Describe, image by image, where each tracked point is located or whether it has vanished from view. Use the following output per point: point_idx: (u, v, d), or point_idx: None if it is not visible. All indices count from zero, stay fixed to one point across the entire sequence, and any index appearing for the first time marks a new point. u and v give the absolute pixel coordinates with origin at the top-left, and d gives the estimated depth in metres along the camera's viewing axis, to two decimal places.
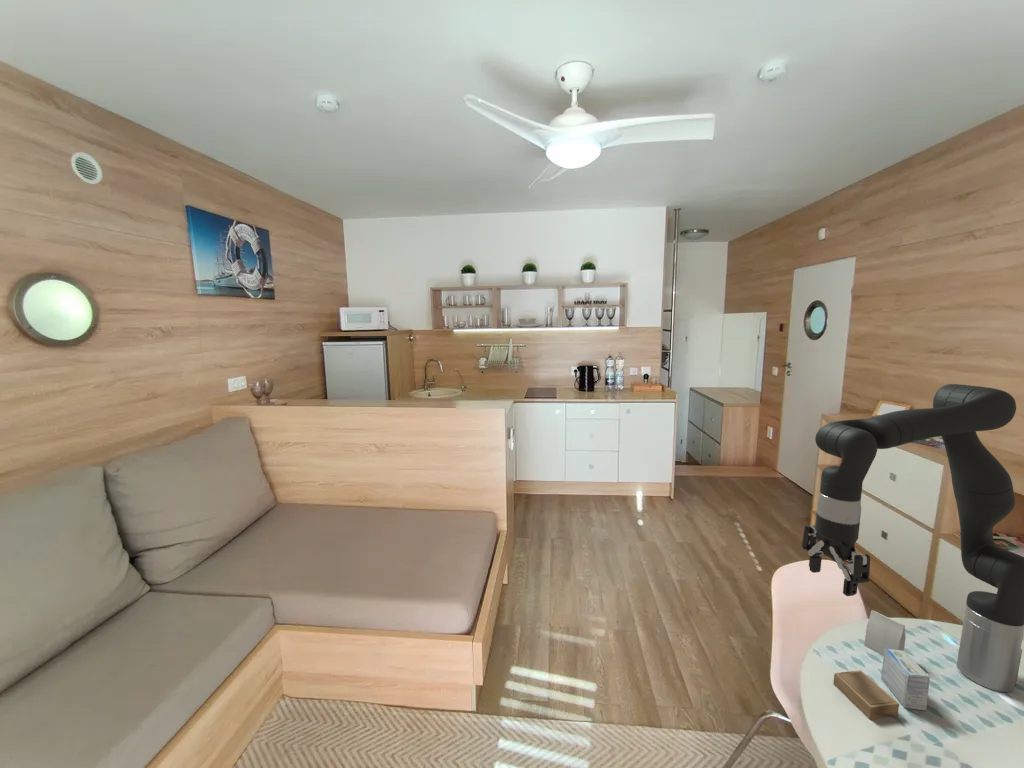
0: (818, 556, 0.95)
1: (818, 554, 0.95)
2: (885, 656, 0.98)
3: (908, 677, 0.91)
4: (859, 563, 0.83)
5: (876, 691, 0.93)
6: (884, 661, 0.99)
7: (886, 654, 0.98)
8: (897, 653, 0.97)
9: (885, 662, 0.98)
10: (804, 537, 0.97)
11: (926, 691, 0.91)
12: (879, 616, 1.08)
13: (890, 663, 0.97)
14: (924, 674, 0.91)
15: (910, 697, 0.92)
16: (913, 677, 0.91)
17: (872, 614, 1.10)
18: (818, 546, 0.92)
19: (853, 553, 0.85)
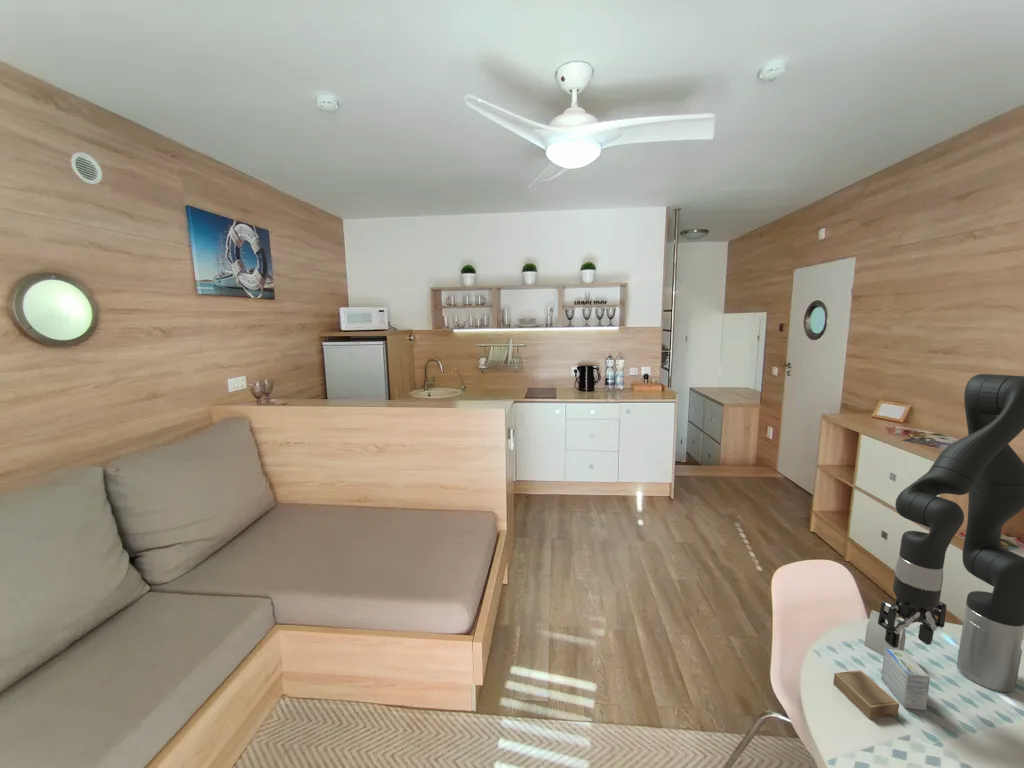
0: None
1: None
2: (885, 656, 0.98)
3: (908, 677, 0.91)
4: (945, 609, 0.92)
5: (876, 691, 0.93)
6: (884, 661, 0.99)
7: (886, 654, 0.98)
8: (897, 653, 0.97)
9: (885, 662, 0.98)
10: (891, 620, 0.91)
11: (926, 691, 0.91)
12: None
13: (890, 663, 0.97)
14: (924, 674, 0.91)
15: (910, 697, 0.92)
16: (913, 677, 0.91)
17: (872, 614, 1.10)
18: (911, 619, 0.91)
19: None
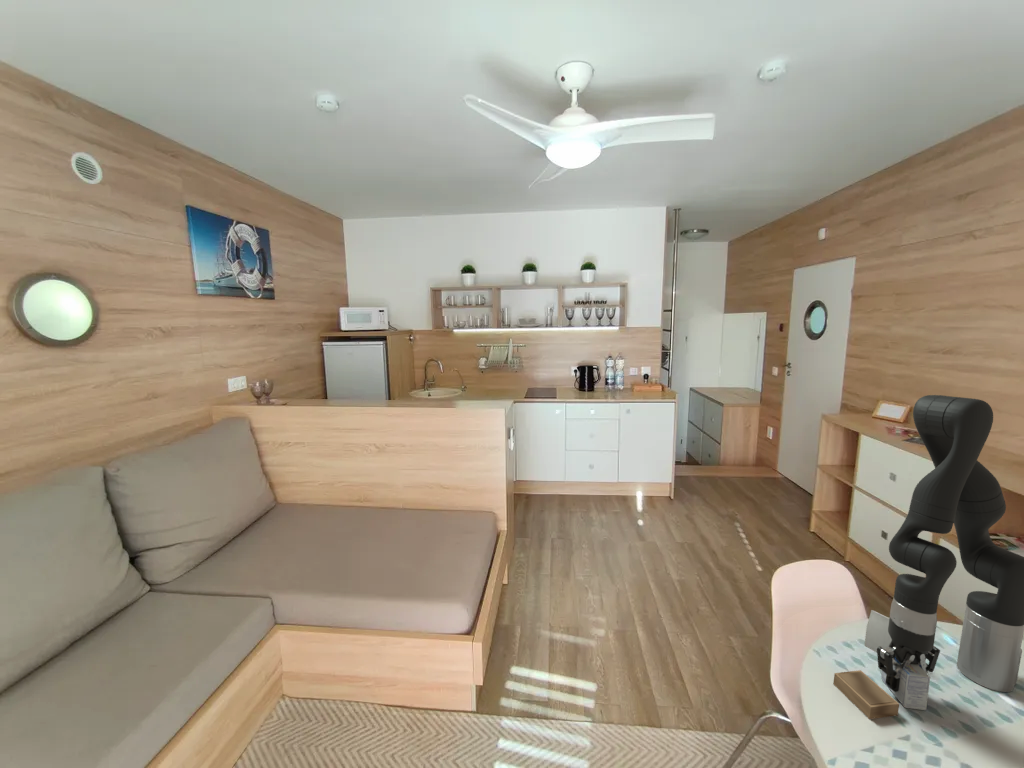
0: None
1: None
2: None
3: (908, 677, 0.91)
4: (938, 655, 0.94)
5: (876, 691, 0.93)
6: None
7: None
8: None
9: None
10: (889, 666, 0.93)
11: (926, 691, 0.91)
12: (879, 616, 1.08)
13: None
14: (924, 674, 0.91)
15: (910, 697, 0.92)
16: (914, 676, 0.91)
17: (872, 614, 1.10)
18: (908, 663, 0.93)
19: None
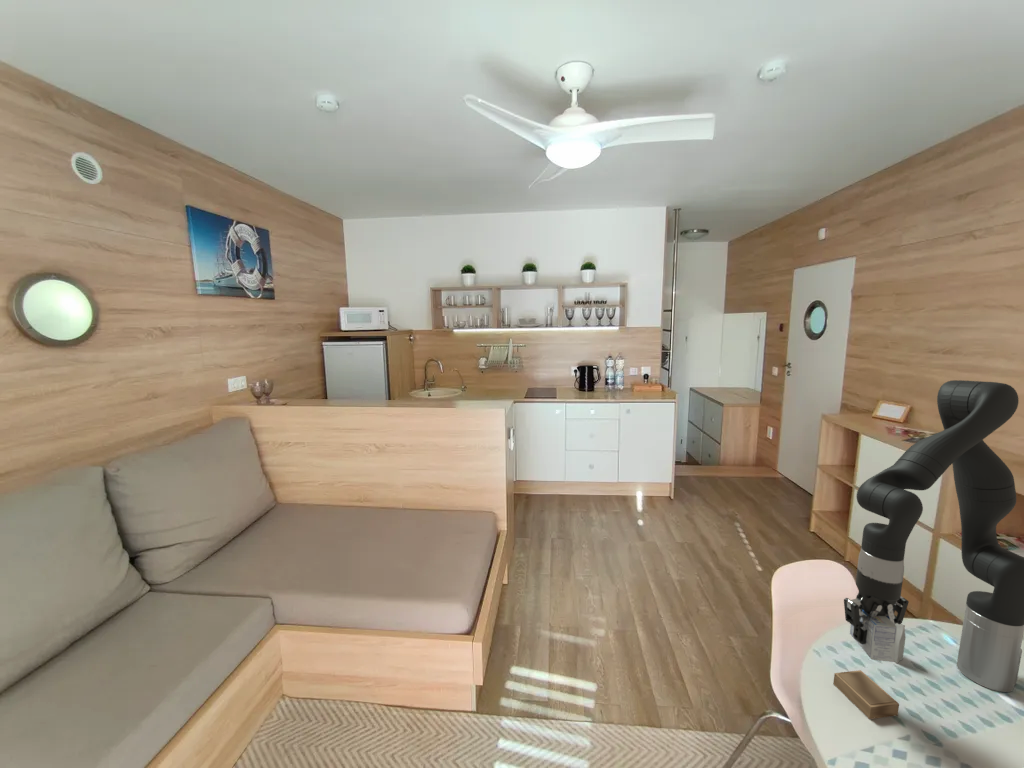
0: None
1: None
2: None
3: (874, 627, 0.88)
4: (906, 606, 0.91)
5: (876, 691, 0.93)
6: None
7: None
8: None
9: None
10: (856, 617, 0.90)
11: (893, 642, 0.88)
12: None
13: None
14: (891, 624, 0.88)
15: (877, 649, 0.89)
16: (880, 627, 0.88)
17: None
18: (875, 613, 0.90)
19: None
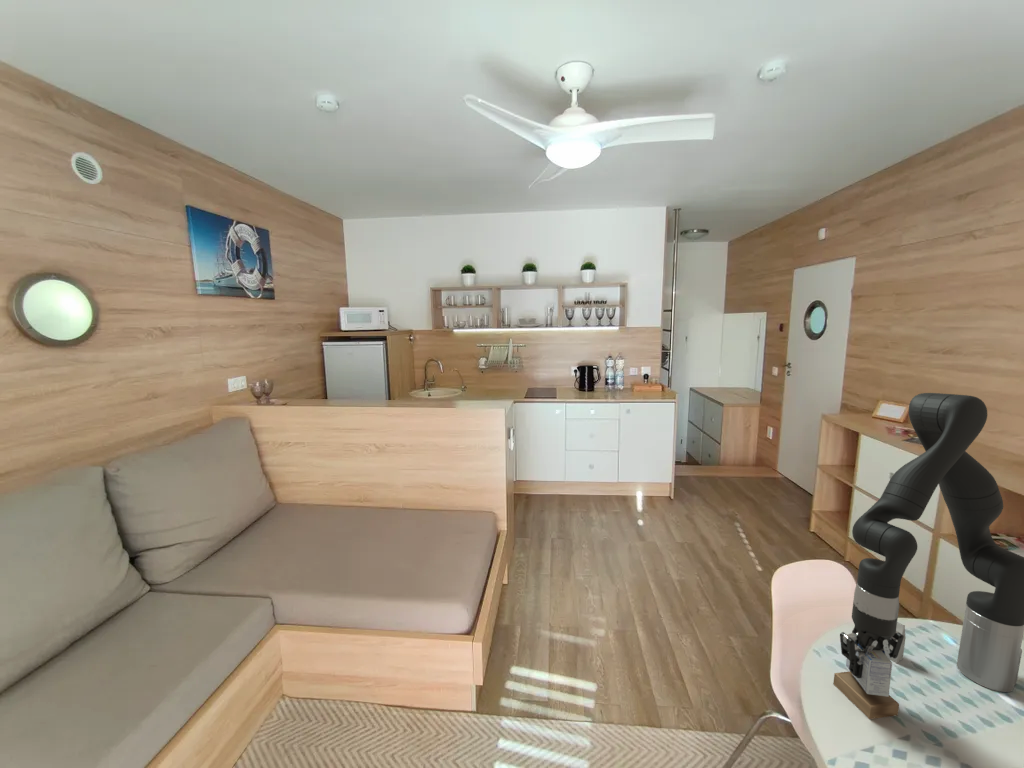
0: None
1: None
2: None
3: (870, 662, 0.90)
4: (902, 640, 0.92)
5: None
6: None
7: None
8: None
9: None
10: (851, 652, 0.91)
11: (888, 677, 0.89)
12: None
13: None
14: (887, 660, 0.90)
15: (872, 683, 0.90)
16: (876, 662, 0.89)
17: None
18: (870, 648, 0.91)
19: None
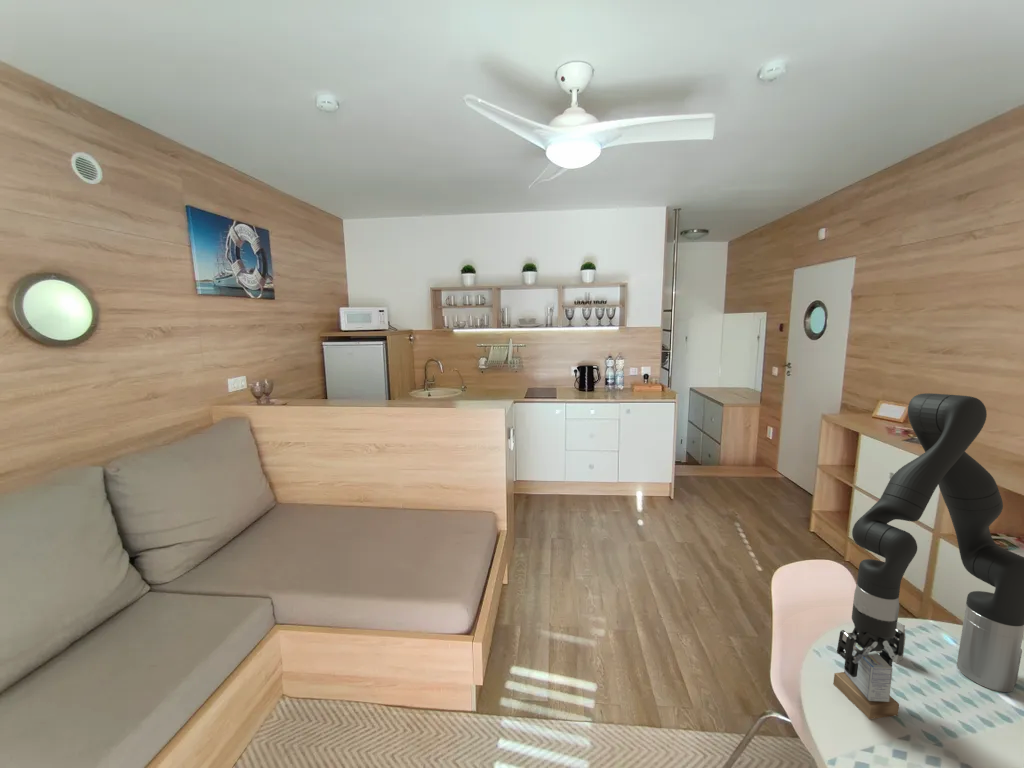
0: None
1: None
2: None
3: (872, 670, 0.90)
4: (903, 638, 0.92)
5: None
6: None
7: None
8: None
9: None
10: (849, 650, 0.91)
11: (889, 682, 0.90)
12: None
13: None
14: (887, 665, 0.90)
15: (874, 690, 0.90)
16: (877, 669, 0.90)
17: None
18: (869, 649, 0.91)
19: None
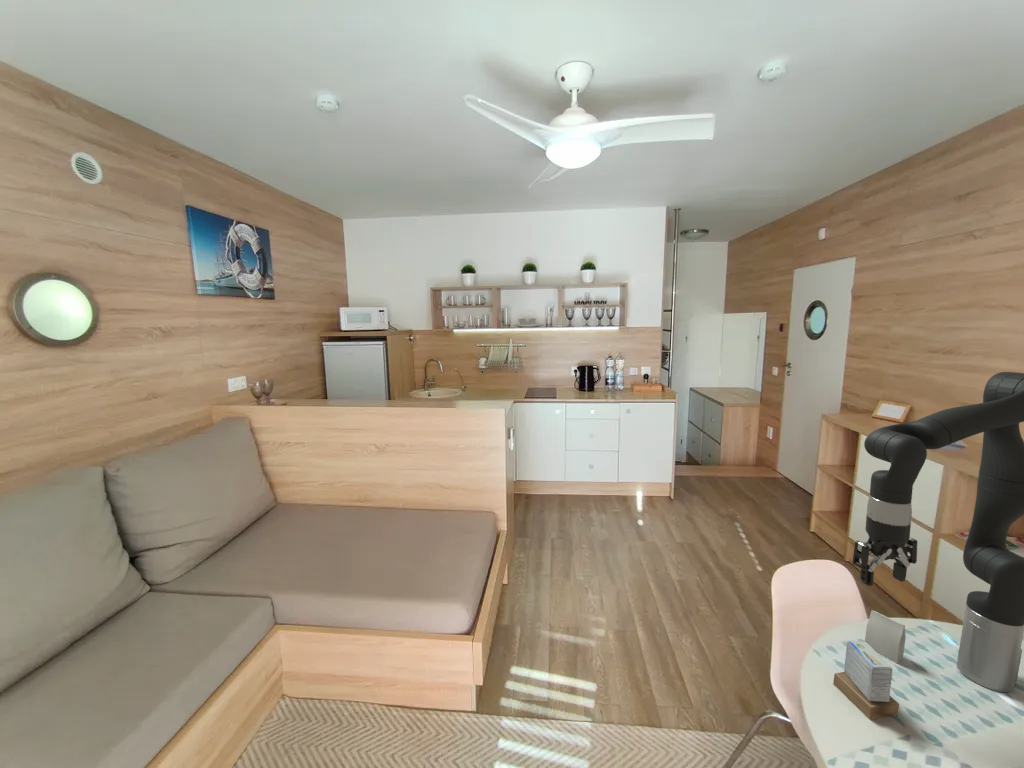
0: None
1: None
2: (848, 649, 0.97)
3: (872, 670, 0.90)
4: (916, 545, 0.94)
5: None
6: (847, 654, 0.97)
7: (849, 646, 0.97)
8: (859, 645, 0.96)
9: (848, 655, 0.97)
10: (865, 558, 0.93)
11: (889, 682, 0.90)
12: (879, 616, 1.08)
13: (853, 656, 0.95)
14: (887, 665, 0.90)
15: (874, 690, 0.90)
16: (877, 669, 0.90)
17: (872, 614, 1.10)
18: (884, 556, 0.93)
19: None
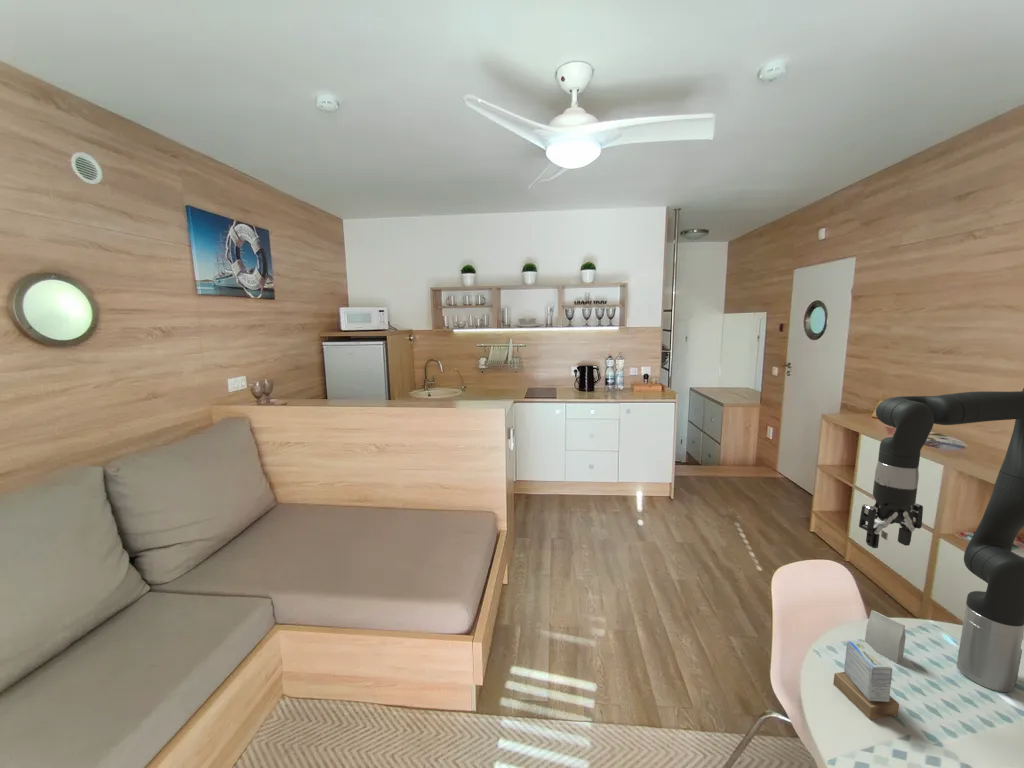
0: None
1: None
2: (848, 649, 0.97)
3: (872, 670, 0.90)
4: (922, 510, 0.97)
5: None
6: (847, 654, 0.97)
7: (849, 646, 0.97)
8: (859, 645, 0.96)
9: (848, 655, 0.97)
10: (871, 520, 0.96)
11: (889, 682, 0.90)
12: (879, 616, 1.08)
13: (853, 656, 0.95)
14: (887, 665, 0.90)
15: (874, 690, 0.90)
16: (877, 669, 0.90)
17: (872, 614, 1.10)
18: (890, 519, 0.96)
19: (911, 506, 0.98)
